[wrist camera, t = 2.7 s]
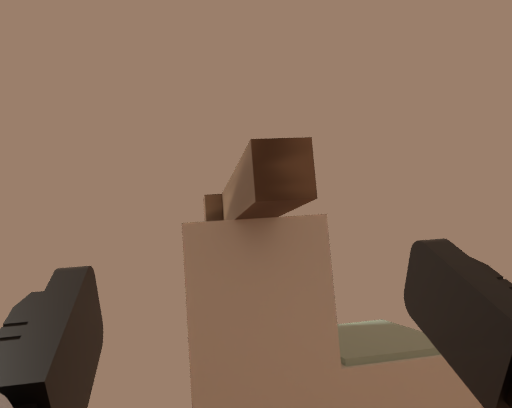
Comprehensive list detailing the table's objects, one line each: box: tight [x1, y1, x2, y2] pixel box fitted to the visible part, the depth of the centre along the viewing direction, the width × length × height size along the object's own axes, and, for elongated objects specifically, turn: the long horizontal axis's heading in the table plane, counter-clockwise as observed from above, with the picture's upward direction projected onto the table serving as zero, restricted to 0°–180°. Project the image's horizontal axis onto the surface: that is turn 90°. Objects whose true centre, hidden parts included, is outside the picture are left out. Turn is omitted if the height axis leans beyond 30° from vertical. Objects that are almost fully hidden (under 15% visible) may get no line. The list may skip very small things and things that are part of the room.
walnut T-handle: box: [203, 137, 317, 222], centre depth 30 cm, size 6×20×3 cm, turn 9°
